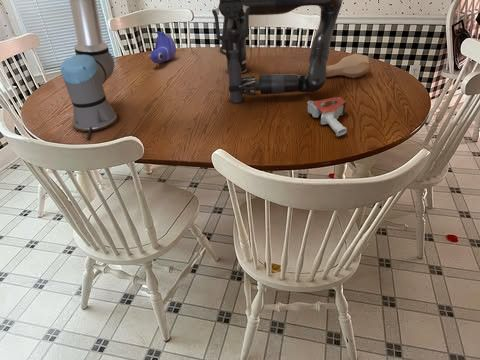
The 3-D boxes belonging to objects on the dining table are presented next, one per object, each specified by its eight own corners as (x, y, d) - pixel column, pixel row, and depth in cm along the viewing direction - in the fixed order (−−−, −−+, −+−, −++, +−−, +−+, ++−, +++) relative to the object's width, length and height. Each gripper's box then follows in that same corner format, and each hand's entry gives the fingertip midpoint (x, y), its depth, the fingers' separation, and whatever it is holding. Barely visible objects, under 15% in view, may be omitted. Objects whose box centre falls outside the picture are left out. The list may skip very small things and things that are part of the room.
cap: (237, 59, 131) (237, 53, 130) (226, 59, 132) (226, 53, 131) (241, 55, 134) (240, 50, 133) (230, 55, 135) (229, 49, 134)
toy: (164, 63, 199) (144, 69, 176) (159, 31, 192) (138, 32, 170) (181, 62, 196) (162, 68, 174) (177, 30, 190) (157, 31, 167)
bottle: (244, 98, 144) (242, 52, 133) (239, 103, 141) (236, 56, 130) (233, 97, 146) (230, 51, 135) (228, 101, 142) (224, 55, 131)
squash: (372, 78, 155) (374, 59, 148) (326, 86, 156) (326, 68, 150) (365, 66, 162) (367, 47, 156) (321, 74, 164) (321, 56, 157)
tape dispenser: (341, 143, 115) (361, 114, 127) (344, 129, 111) (364, 101, 124) (292, 129, 122) (315, 103, 135) (293, 115, 119) (316, 90, 131)
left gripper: (204, -9, 116) (211, 63, 130) (256, -13, 117) (258, 58, 131) (203, -12, 122) (210, 56, 136) (253, -16, 123) (255, 52, 137)
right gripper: (270, 68, 143) (228, 70, 143) (273, 81, 131) (227, 83, 132) (270, 86, 147) (230, 88, 148) (273, 100, 136) (229, 102, 136)
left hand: (234, 57), depth 133 cm, fingers closed on cap, 4 cm apart
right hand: (229, 86), depth 140 cm, fingers closed on bottle, 5 cm apart
